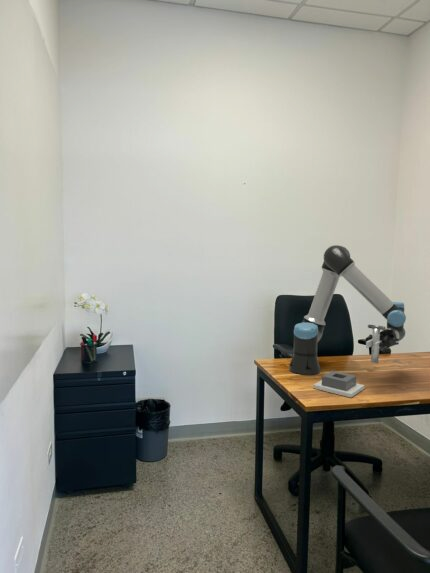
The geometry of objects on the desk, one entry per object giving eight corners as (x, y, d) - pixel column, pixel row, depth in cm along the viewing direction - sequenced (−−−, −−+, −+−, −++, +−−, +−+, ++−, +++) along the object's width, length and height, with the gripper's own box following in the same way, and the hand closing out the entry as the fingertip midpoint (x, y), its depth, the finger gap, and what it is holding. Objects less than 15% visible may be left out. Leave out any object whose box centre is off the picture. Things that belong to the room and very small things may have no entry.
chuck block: (313, 388, 176) (313, 375, 175) (327, 380, 187) (328, 368, 187) (351, 397, 165) (351, 384, 164) (364, 388, 176) (365, 376, 176)
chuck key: (364, 361, 178) (366, 324, 177) (367, 359, 180) (369, 323, 179) (382, 364, 173) (384, 327, 172) (384, 363, 176) (386, 326, 174)
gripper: (406, 347, 185) (390, 357, 167) (370, 342, 195) (352, 350, 177) (407, 331, 184) (391, 339, 166) (371, 326, 195) (353, 334, 177)
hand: (371, 345), depth 172 cm, fingers closed on chuck key, 3 cm apart
